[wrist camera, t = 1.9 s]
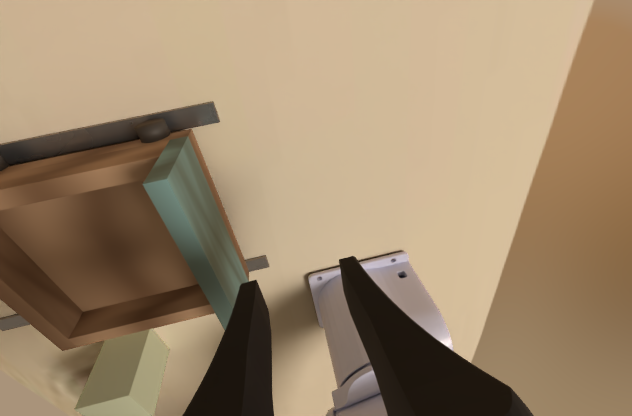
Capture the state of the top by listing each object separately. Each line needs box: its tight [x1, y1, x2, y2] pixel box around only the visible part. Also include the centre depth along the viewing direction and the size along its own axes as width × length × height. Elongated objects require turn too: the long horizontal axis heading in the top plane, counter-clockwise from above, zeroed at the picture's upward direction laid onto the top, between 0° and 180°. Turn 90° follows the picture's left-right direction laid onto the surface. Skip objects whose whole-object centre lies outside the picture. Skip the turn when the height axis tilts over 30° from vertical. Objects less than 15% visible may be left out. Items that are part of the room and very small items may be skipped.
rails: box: [0, 102, 269, 331], centre depth 21 cm, size 22×14×1 cm, turn 98°
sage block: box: [75, 329, 170, 416], centre depth 26 cm, size 4×4×6 cm
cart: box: [0, 118, 249, 351], centre depth 18 cm, size 13×14×7 cm
